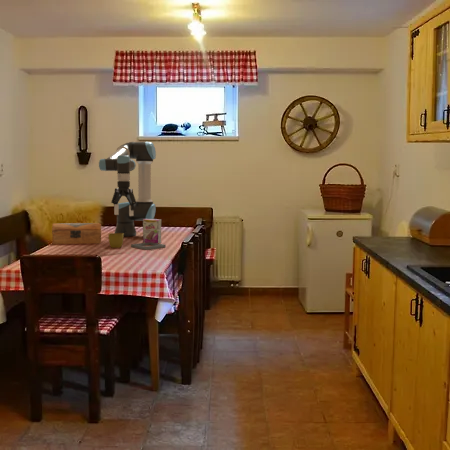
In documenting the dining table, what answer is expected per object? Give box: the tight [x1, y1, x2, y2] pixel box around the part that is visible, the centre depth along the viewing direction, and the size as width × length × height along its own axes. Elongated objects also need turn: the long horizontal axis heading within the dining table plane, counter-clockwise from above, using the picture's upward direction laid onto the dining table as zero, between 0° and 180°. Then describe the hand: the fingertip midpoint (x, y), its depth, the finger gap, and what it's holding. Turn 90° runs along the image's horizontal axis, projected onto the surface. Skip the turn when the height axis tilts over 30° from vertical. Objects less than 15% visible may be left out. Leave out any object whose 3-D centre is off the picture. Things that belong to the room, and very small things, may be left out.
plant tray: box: [130, 242, 167, 251], centre depth 375 cm, size 15×15×2 cm
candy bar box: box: [142, 218, 162, 244], centre depth 392 cm, size 11×5×16 cm, turn 71°
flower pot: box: [107, 232, 125, 249], centre depth 374 cm, size 9×9×9 cm
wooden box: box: [51, 222, 102, 245], centre depth 390 cm, size 30×16×14 cm, turn 100°
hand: (123, 215), depth 375 cm, fingers open, 13 cm apart
